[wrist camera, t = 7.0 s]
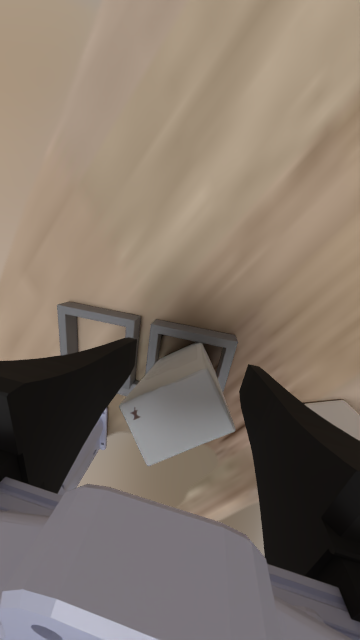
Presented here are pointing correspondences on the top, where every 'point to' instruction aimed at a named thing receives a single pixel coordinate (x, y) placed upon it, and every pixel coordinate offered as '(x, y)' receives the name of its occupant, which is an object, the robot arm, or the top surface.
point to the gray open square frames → (132, 323)
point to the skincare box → (177, 405)
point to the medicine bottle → (339, 415)
